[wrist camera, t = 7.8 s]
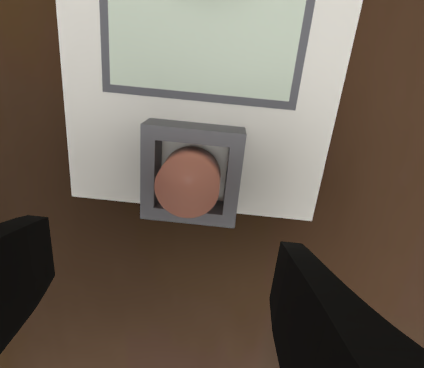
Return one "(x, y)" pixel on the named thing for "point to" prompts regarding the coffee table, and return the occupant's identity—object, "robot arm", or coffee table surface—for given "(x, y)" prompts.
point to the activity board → (204, 97)
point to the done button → (188, 182)
